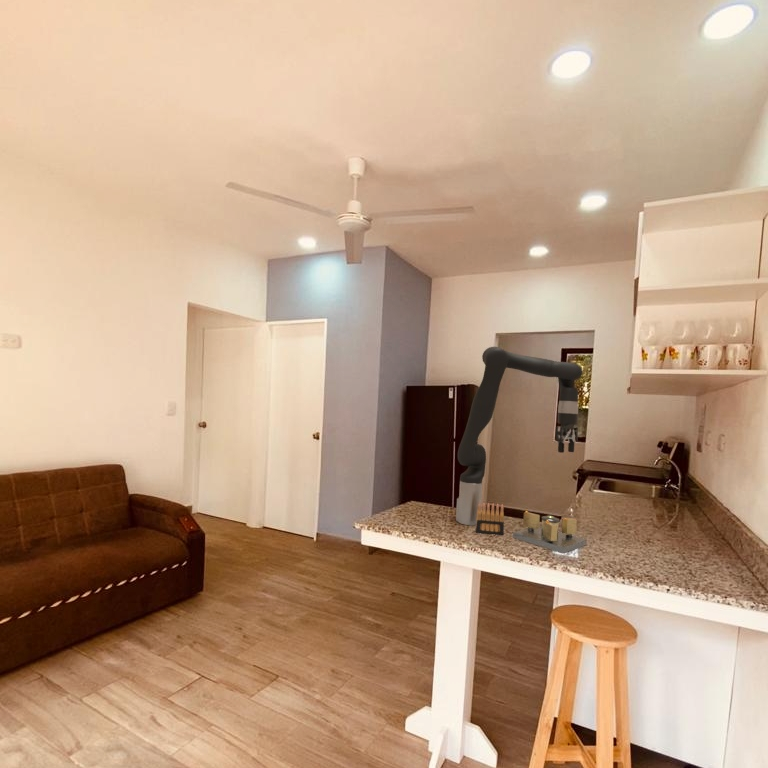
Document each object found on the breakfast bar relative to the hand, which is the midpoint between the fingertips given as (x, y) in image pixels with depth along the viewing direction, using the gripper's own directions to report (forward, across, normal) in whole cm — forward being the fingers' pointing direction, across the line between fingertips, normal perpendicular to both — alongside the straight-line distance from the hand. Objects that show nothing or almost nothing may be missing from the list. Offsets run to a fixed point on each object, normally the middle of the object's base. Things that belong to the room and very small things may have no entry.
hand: (566, 452), depth 178 cm
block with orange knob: (+31, -14, +6) cm, 35 cm away
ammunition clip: (+33, -27, +16) cm, 46 cm away
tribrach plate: (+33, -14, -2) cm, 36 cm away
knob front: (+31, -21, -6) cm, 38 cm away
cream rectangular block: (+31, -7, -6) cm, 33 cm away
